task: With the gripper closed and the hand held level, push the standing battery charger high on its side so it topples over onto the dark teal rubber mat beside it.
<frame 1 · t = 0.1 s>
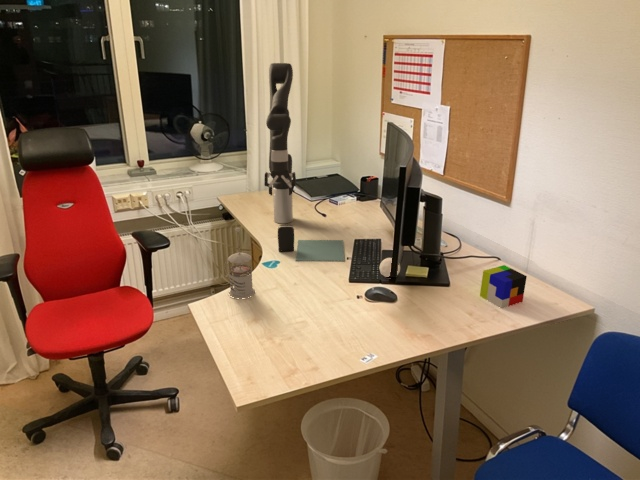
hand: (280, 195, 233), 17 cm above the table, tool pointing down, fingers open, 8 cm apart
french press: (240, 292, 183), on the table
geometric ball: (389, 277, 195), on the table
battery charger: (286, 250, 218), on the table
puzzle toy: (500, 299, 179), on the table
mat: (320, 250, 218), on the table
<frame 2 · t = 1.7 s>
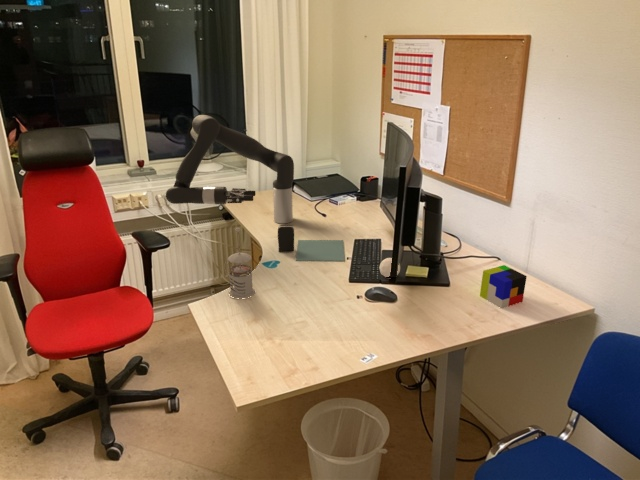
hand: (254, 195, 216), 22 cm above the table, tool horizontal, fingers open, 6 cm apart
nothing on the table moved.
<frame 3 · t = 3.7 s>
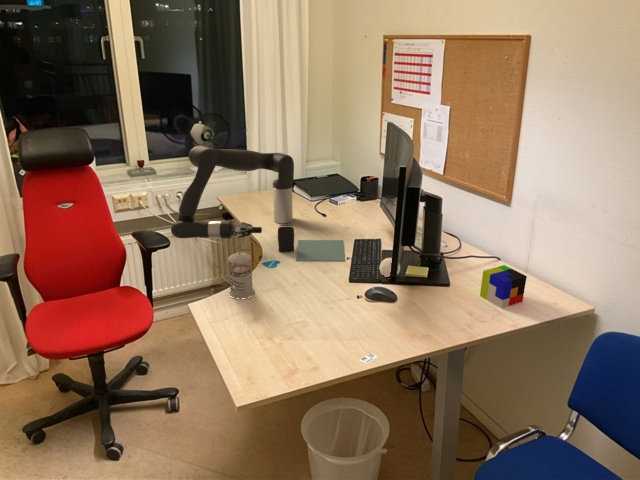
hand: (261, 230, 214), 9 cm above the table, tool horizontal, fingers closed
nothing on the table moved.
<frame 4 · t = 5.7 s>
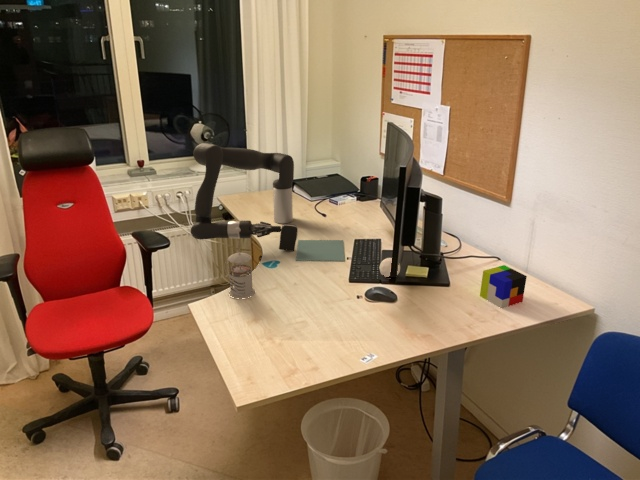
hand: (280, 229, 214), 10 cm above the table, tool horizontal, fingers closed
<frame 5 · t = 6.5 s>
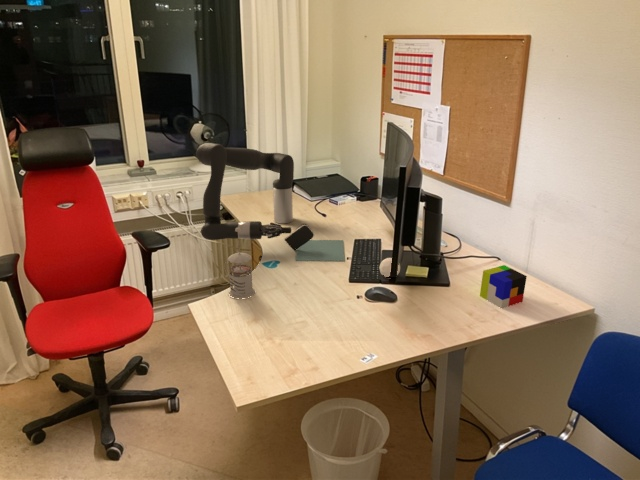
hand: (291, 230, 214), 9 cm above the table, tool horizontal, fingers closed
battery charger: (288, 244, 217), point 3 cm above the table
everything else where it was.
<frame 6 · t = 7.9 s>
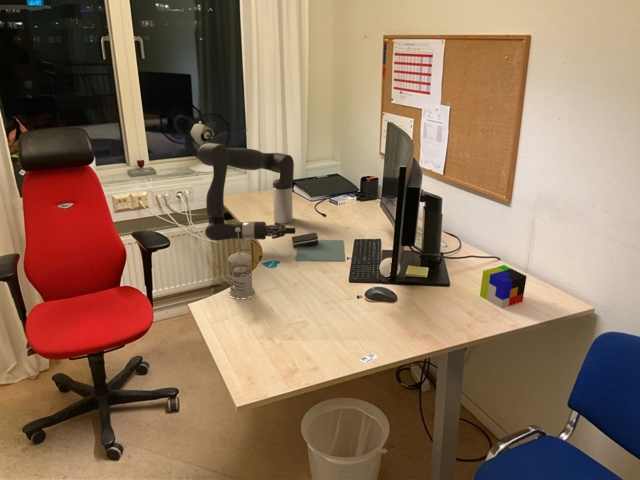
hand: (295, 230, 214), 9 cm above the table, tool horizontal, fingers closed
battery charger: (291, 243, 222), point 1 cm above the table, touching mat
everything else where it was.
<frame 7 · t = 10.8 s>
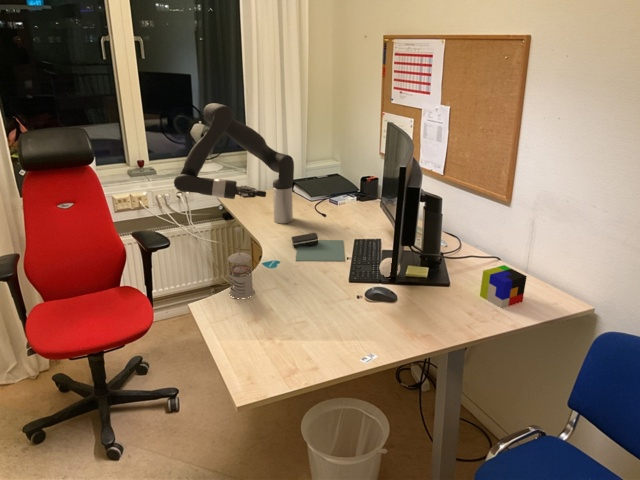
hand: (265, 194, 214), 23 cm above the table, tool horizontal, fingers closed
nothing on the table moved.
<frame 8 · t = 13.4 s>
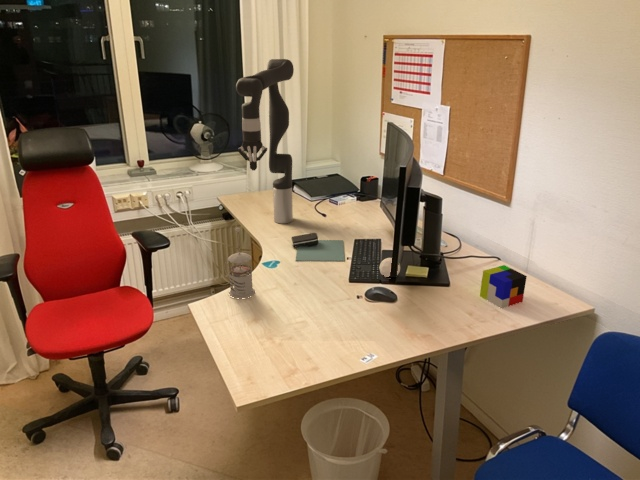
hand: (253, 170, 217), 32 cm above the table, tool pointing down, fingers closed
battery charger: (291, 243, 222), point 1 cm above the table, touching mat
everything else where it was.
at the end: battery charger tilted 82°; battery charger touching mat; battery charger inside the target area (8.4 cm from its centre), point 1.2 cm above the table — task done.
